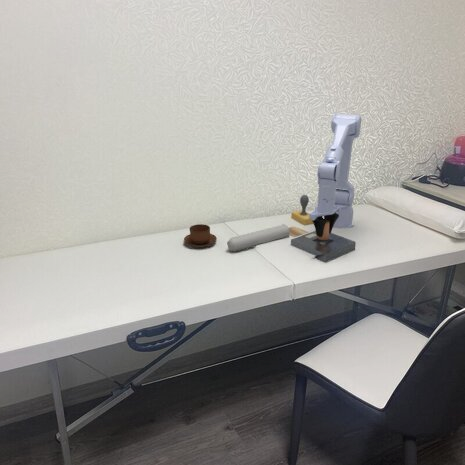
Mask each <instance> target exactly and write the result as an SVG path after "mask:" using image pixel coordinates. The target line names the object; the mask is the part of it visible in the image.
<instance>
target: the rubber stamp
mask: <svg viewBox="0 0 465 465" xmlns="http://www.w3.org/2000/svg"><path fill="white" fill-rule="evenodd" d="M299 201H300V206H301V208H302V209H301V210H296V211H295V210H294V211H292V212H291V215H290V218H291V219H293V220H294V221H296V222H298V223H299V224H301V225H303V226H308V225H314V223H313V221H312V220H311V219H309V214H310V213H309V212H307V211H306V209H307V206H308V204H309V201H310V198H309V196H308V195H306V194H302V195H301V196H300V198H299Z"/></svg>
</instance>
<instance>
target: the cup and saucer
mask: <svg viewBox="0 0 465 465" xmlns="http://www.w3.org/2000/svg"><path fill="white" fill-rule="evenodd" d="M216 241H217V236H216V235H215V234H212V233H211V227H210V226H209V225H207V224H202V223H201V224H194V225H191V226H190V227H189V234H187V235H186V236H185V237H184V238H183V242H184V244H186V245H187V246H189V247H194V248H205V247H210V246H212V245H213V244H215V243H216Z"/></svg>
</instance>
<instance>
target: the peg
mask: <svg viewBox="0 0 465 465" xmlns="http://www.w3.org/2000/svg"><path fill="white" fill-rule="evenodd" d="M329 224H330V222H329V221H327V222H326V224H325V226H324V231H323V236H322V237H319V236H317V239H319V240H328V239H329Z"/></svg>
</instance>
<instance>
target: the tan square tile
mask: <svg viewBox="0 0 465 465" xmlns="http://www.w3.org/2000/svg"><path fill="white" fill-rule="evenodd" d="M288 228H289V230H290V235H289V236H290V237H292V238H297V237H300V236H302V235H305V234H308V233H309V231H307V230H304V229H302V228H300V227H296V226H293V225H292V226H290V227H288Z"/></svg>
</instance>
